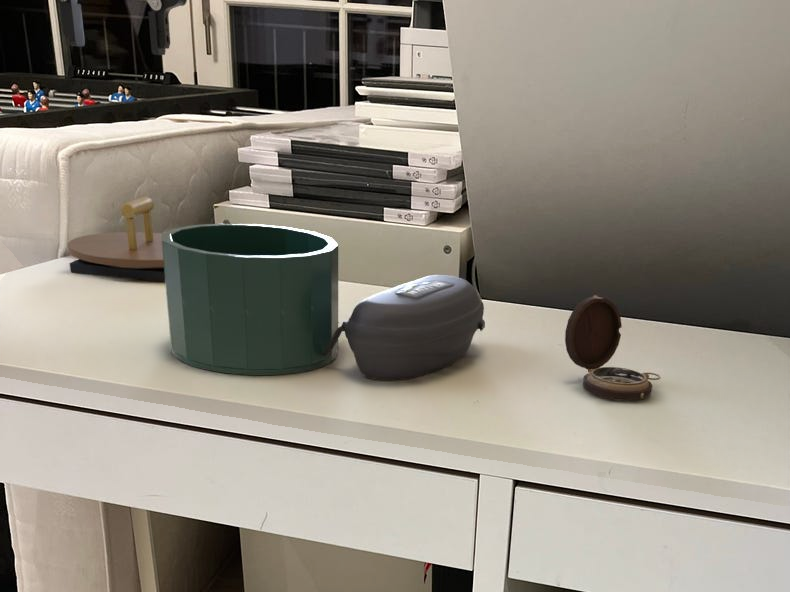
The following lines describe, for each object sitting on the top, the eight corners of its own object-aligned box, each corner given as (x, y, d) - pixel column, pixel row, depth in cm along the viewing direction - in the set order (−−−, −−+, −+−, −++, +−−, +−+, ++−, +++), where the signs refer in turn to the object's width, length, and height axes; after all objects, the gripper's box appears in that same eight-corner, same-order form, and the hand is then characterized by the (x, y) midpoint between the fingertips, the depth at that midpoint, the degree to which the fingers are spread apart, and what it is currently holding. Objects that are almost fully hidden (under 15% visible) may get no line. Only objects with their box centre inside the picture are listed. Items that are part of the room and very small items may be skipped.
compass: (615, 407, 83) (629, 319, 79) (555, 379, 88) (565, 296, 84) (681, 395, 87) (697, 311, 83) (620, 370, 92) (632, 290, 88)
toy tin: (146, 365, 82) (134, 246, 77) (202, 322, 95) (195, 218, 90) (316, 382, 82) (315, 264, 77) (350, 337, 94) (351, 233, 89)
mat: (70, 272, 108) (69, 263, 107) (114, 252, 118) (113, 243, 118) (177, 283, 108) (176, 273, 107) (211, 262, 118) (211, 253, 117)
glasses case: (427, 387, 80) (399, 290, 77) (326, 407, 85) (297, 317, 82) (515, 339, 94) (494, 255, 91) (423, 358, 99) (401, 280, 96)
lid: (43, 264, 106) (34, 203, 103) (103, 239, 119) (97, 184, 116) (187, 278, 105) (182, 217, 102) (231, 252, 119) (227, 197, 116)
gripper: (6, -164, 89) (33, 43, 98) (159, -150, 89) (173, 57, 97) (43, -150, 95) (66, 44, 104) (187, -136, 95) (198, 57, 104)
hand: (118, 50), depth 101 cm, fingers open, 8 cm apart
